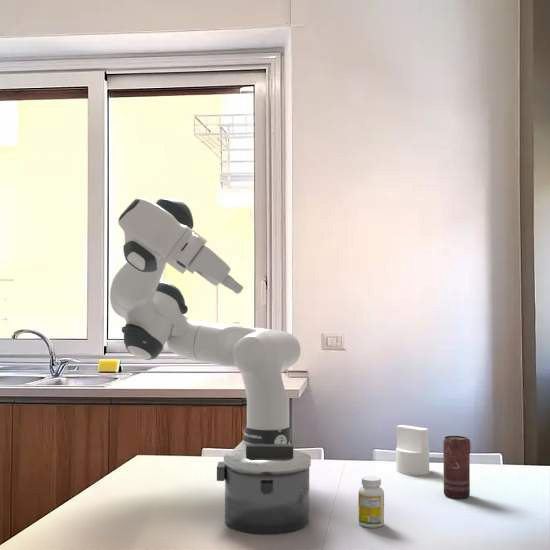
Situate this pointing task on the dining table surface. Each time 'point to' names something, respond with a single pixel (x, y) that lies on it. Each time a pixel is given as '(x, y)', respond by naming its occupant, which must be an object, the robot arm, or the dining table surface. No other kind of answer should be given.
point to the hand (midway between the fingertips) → (240, 291)
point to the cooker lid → (267, 459)
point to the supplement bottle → (371, 502)
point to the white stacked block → (412, 450)
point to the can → (456, 467)
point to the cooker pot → (265, 501)
